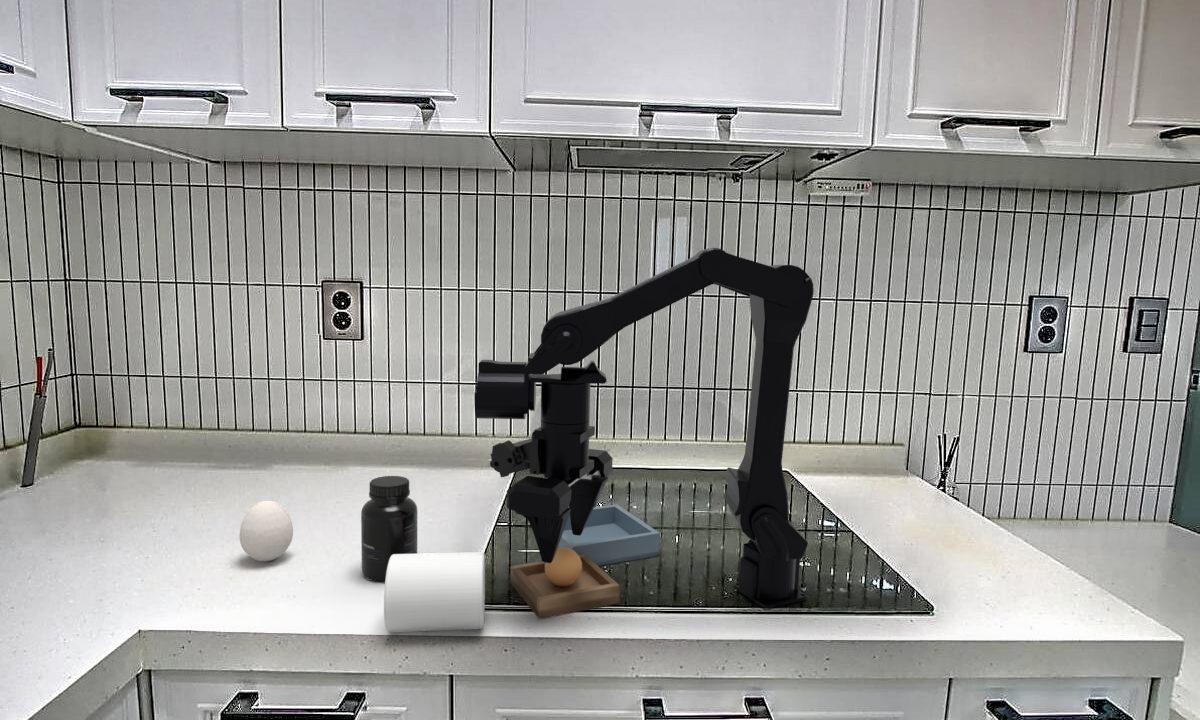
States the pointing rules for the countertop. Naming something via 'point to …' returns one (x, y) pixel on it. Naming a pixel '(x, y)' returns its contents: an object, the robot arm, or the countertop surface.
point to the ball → (564, 567)
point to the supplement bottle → (387, 525)
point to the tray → (564, 589)
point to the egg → (266, 531)
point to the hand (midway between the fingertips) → (562, 547)
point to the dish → (612, 537)
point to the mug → (435, 592)
